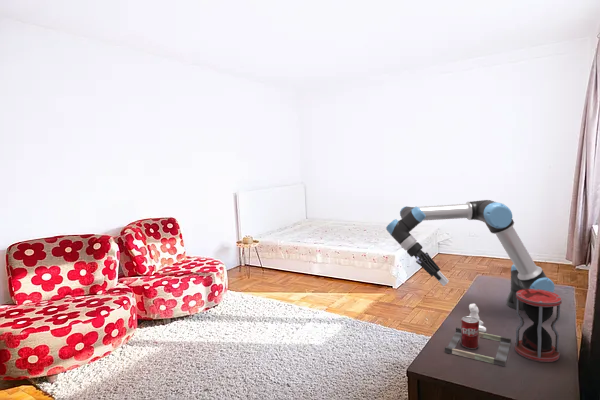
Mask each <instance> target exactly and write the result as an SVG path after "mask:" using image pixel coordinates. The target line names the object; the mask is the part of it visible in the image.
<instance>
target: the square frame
mask: <svg viewBox="0 0 600 400" xmlns="http://www.w3.org/2000/svg"><path fill="white" fill-rule="evenodd" d="M479 338H483V339H486V340H492V341H496V342H499V345H498V348H497V352H496V355H495V357H491V356H487V355H482V354H479V353H475V352H470V351H467V350H461V349H457V348H456V347H457V345H458V343H459V341H460V340H461V327H455V333H454V334H453V336H452V338H451V340H450V342H448V345H447V346H445V347H444V352H445V353H448V354H452V355H455V356H460V357H464V358H469V359H472V360H476V361H480V362H485V363H488V364H493V365H497V366H501V367H506V363H507V359H508V355H509V353H510V348H511V343H512V338H511V337H506V336H501V335H495V334H490V333H487V332H481V331H479Z"/></svg>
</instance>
